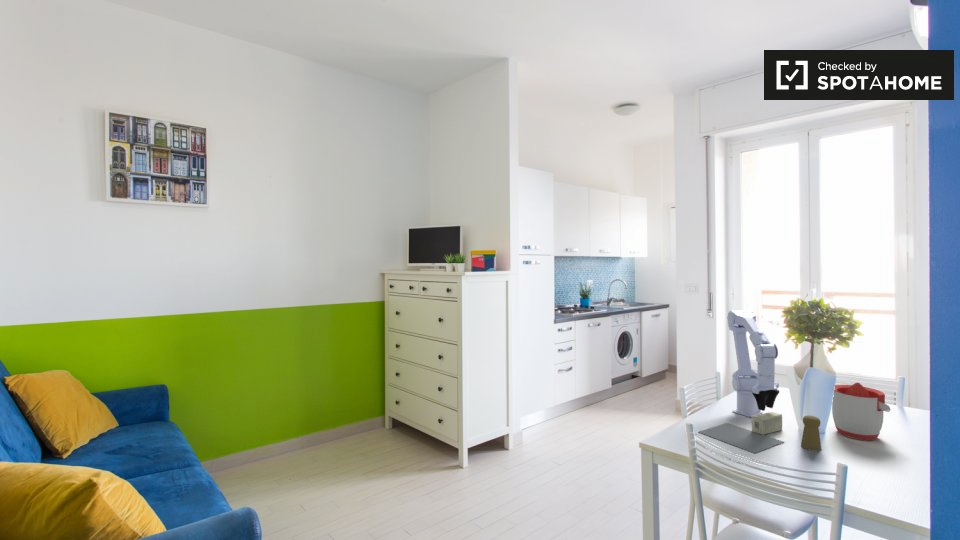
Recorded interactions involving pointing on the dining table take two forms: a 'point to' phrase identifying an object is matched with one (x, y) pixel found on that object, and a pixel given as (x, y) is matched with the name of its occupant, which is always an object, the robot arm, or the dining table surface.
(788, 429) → the dining table surface
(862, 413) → the citrus juicer
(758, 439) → the mat
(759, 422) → the skincare box
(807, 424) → the cork
